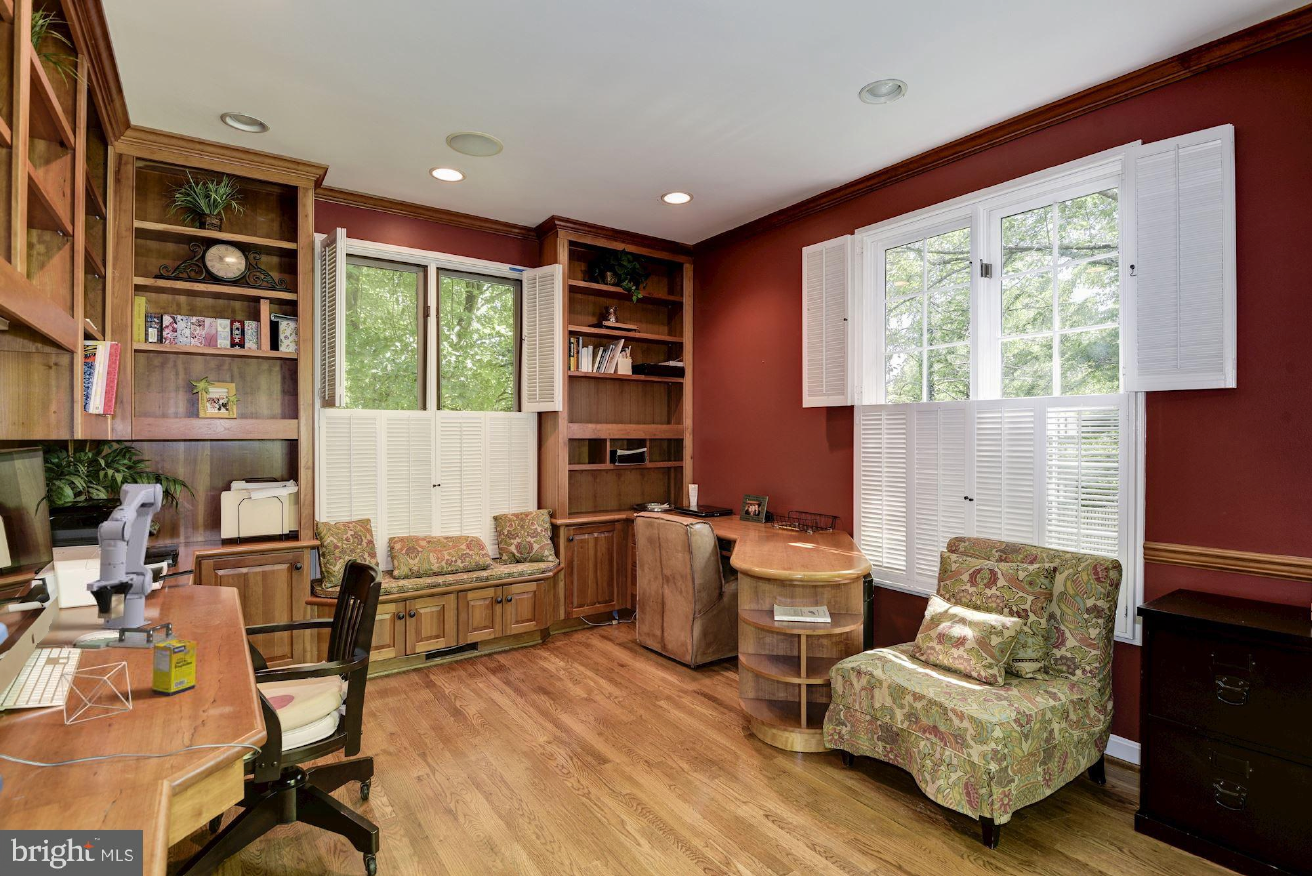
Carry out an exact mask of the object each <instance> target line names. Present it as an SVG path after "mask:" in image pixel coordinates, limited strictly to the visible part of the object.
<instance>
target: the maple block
mask: <svg viewBox="0 0 1312 876" xmlns="http://www.w3.org/2000/svg"><path fill="white" fill-rule="evenodd" d="M123 608H124V594H113V595H112V598H111V603H110V610H109V613H107V614H103V613H100V612H99V608H98V607H97V619H103V620H104V619H112V618H116V617H119V616H123Z"/></svg>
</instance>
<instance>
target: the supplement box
mask: <svg viewBox="0 0 1312 876" xmlns="http://www.w3.org/2000/svg"><path fill="white" fill-rule="evenodd" d="M197 642H198V641H197V640H196V641H194V640H188V639H184V638H183V639H182V638H177V639H174V640H171V641H168V642H164V643H160V644H156V645H154V647H153V664H152V666H153V667H152V690H151V691H152V692H151V693H154V694H159V695H165V696H170V697H171V696H174V695H177V693H178V694H180V693H183V692H186V691H189V689H190V690H192V689H195V687H196V673H197V672H196V669H197V668H196V665H197V664H196V663H197Z"/></svg>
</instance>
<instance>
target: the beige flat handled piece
mask: <svg viewBox="0 0 1312 876" xmlns="http://www.w3.org/2000/svg"><path fill="white" fill-rule="evenodd" d="M163 629H165V633H161V632H159V633H158V632H157V631H160V630H163ZM172 629H173V624H172V623H171V622H169V621H168V622H165V623H162V624H159V625H156V626H153V627H151V628H150V627H149V628H148V627H145V628H144V627H137V628H125V627H122V628H121V629H118V630H119V639H117V640H114V641H111V642H109V646H108V647H109V648H110V647H111V648H113V647H114V648H133V649H134V648H137V649H139V648H140V649H152V648H153V649H154V645H156V644H160V643H164V642H168V641H172V640H176V639H179V634H178V633H173V632H172V631H173V630H172ZM125 632H137V633H135V634H132V635H129V636H126V637H125Z"/></svg>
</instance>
